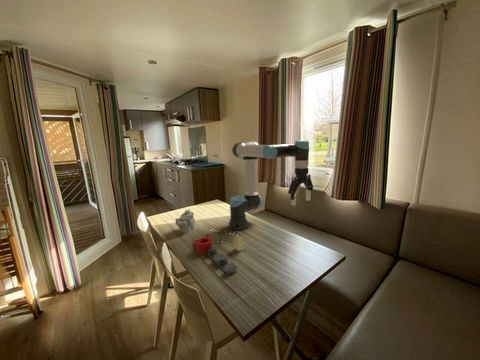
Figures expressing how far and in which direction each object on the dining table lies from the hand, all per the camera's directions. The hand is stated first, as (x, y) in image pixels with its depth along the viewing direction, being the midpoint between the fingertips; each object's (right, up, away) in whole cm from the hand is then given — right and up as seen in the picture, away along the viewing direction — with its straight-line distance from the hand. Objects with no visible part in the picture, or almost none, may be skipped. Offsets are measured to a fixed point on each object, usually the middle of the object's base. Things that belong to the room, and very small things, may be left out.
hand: (300, 202), depth 121 cm
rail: (-47, -32, -9) cm, 58 cm away
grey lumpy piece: (-77, -26, +31) cm, 87 cm away
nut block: (-37, -29, +4) cm, 47 cm away
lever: (-61, -30, +8) cm, 68 cm away
